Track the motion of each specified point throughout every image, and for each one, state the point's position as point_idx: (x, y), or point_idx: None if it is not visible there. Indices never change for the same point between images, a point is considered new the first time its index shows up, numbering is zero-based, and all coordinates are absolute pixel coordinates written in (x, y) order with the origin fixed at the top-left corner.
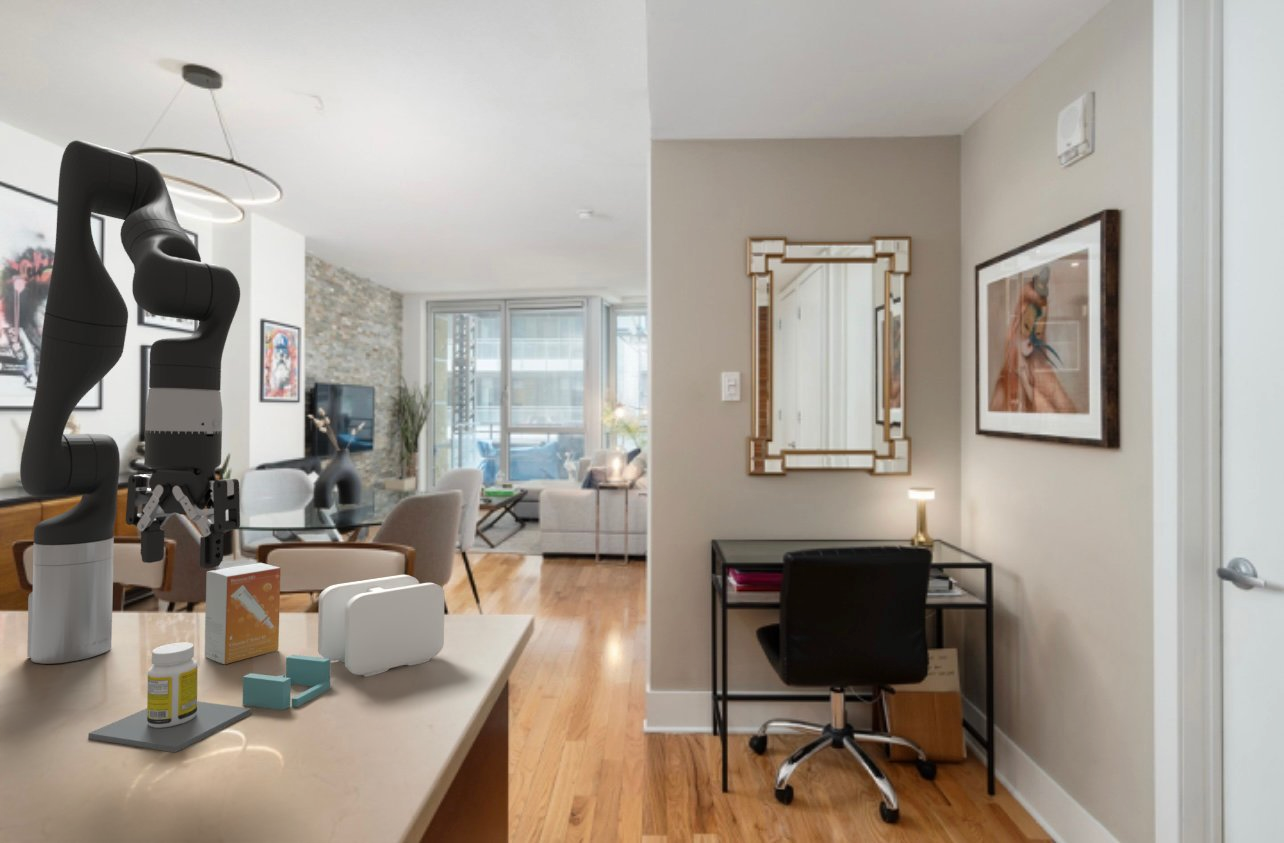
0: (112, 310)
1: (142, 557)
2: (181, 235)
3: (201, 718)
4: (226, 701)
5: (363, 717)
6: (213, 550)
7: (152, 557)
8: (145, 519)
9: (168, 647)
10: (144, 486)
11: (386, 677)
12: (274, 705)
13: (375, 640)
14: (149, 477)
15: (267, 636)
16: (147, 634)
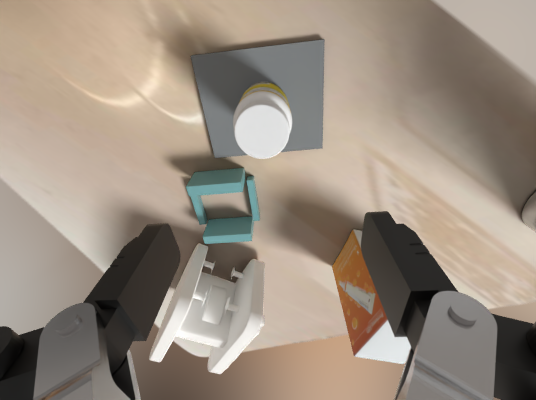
0: None
1: (390, 218)
2: None
3: None
4: (268, 168)
5: (113, 185)
6: (107, 269)
7: (369, 233)
8: (457, 355)
9: (270, 132)
10: None
11: (180, 251)
12: (203, 172)
13: (182, 277)
14: None
15: (339, 272)
16: (512, 259)
